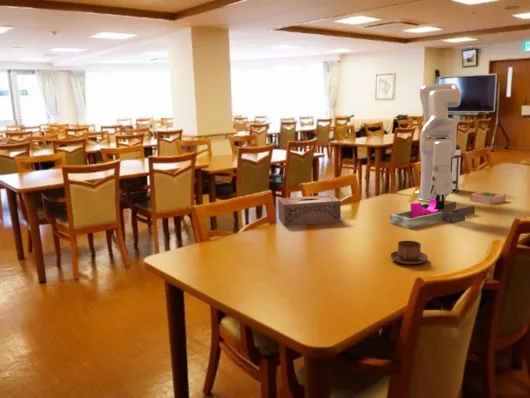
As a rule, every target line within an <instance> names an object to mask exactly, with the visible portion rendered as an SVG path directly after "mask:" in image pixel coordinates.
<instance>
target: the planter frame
mask: <svg viewBox="0 0 530 398" xmlns="http://www.w3.org/2000/svg"><path fill="white" fill-rule="evenodd" d="M485 193H490V194H492V193H494V194H495V196H493V197H487V196H484V194H485ZM469 199H470V202H475V203H480V204H487V205H493V204H499V203H505V202H506V194H503V193H498V192H494V191H493V192H491V191H487V190H486V191H485V190H484V191H479V192H474V193H471V194H470V198H469Z"/></svg>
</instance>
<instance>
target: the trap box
mask: <svg viewBox="0 0 530 398" xmlns="http://www.w3.org/2000/svg"><path fill="white" fill-rule="evenodd" d="M429 204H430V203H423V204H422V203H421V205H422V207H423V209H427V208H428V207H429ZM449 212H450V213H449ZM475 212H476V205H473V204H472V205H468V206H463V207H457V201H452V202H444V210H441V212H438V213H434V214H429V215H424V216H419V217H415V218H411V209H410V210H406V211H401V212H396V213H391V214H389V224H391V225H394V226H398V227H402V228H404V229H405V228H406V229H409V230H410V229H414V228H418V227H424V226H428V225H432V224H436V223H440V222H441V223H442V222H443V223H447V224H451V225H452V224H458V223H461V222H464V221H466V217H467V216H472V215H475Z"/></svg>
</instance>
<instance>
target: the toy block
mask: <svg viewBox="0 0 530 398" xmlns="http://www.w3.org/2000/svg"><path fill="white" fill-rule="evenodd" d="M409 204H410V205H409V206H410V210H411V218H415V217H419V216H424V215H429V214H434V213H438V212H441V210H439V209H436V200H435V199H431V200H430V202H429V203H428V204H429V207H428V208H427V209H423V207H422V202H411V203H409Z"/></svg>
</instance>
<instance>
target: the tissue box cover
mask: <svg viewBox="0 0 530 398" xmlns="http://www.w3.org/2000/svg"><path fill="white" fill-rule="evenodd" d="M277 207H278V209H277V211H278V213H277V214H278V220H279V222H281V224H282V223H283V224H282V226H284V227H291V226H292V225H295V226H304V225H305V226H307V225H306V224H309V225H317V224H318V223H322V224H332V223H334V222H335V223H341V221H342V220H341V217H342V216H341V214H342V211H341V210H342V209H341V200H340V199H338V198H337V197H335V196H334V195H332V194H325V195H324V194H323V195H309V196H293V197H279V198H277ZM318 225H319V224H318Z"/></svg>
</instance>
